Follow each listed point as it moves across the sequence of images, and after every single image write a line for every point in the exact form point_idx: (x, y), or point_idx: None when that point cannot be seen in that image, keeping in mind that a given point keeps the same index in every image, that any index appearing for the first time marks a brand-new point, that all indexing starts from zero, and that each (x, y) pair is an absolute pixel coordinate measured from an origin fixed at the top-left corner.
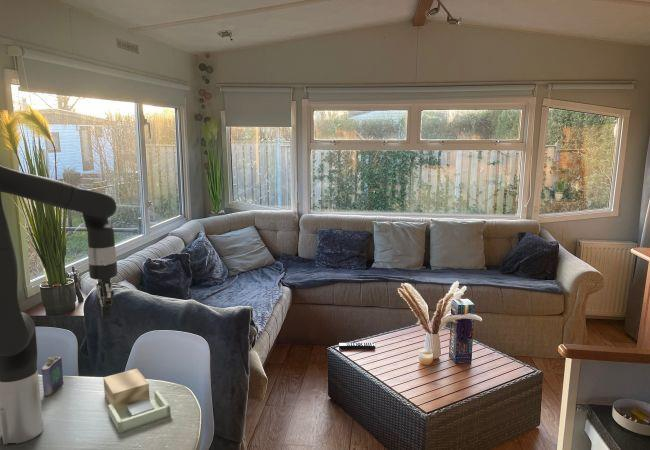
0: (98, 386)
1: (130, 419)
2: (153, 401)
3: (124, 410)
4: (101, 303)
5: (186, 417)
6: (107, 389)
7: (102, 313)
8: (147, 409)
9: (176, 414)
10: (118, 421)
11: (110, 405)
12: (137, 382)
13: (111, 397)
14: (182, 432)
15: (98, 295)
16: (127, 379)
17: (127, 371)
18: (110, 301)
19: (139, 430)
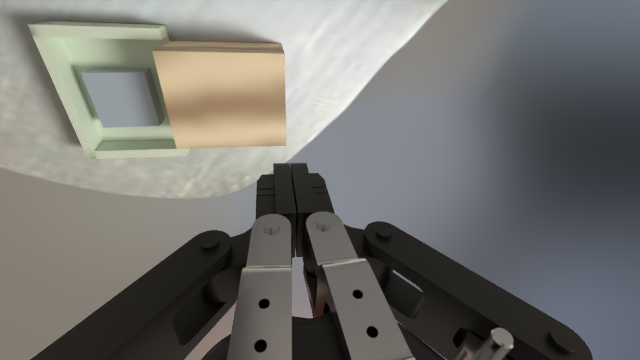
0: (342, 42)
1: (43, 60)
2: None
3: None
4: (285, 230)
5: (79, 170)
6: (236, 49)
7: (283, 177)
8: (100, 112)
9: None
10: (38, 27)
11: (152, 33)
12: (197, 127)
13: (187, 47)
14: (9, 148)
15: (331, 279)
16: (230, 109)
17: (282, 121)
18: (188, 309)
19: None
